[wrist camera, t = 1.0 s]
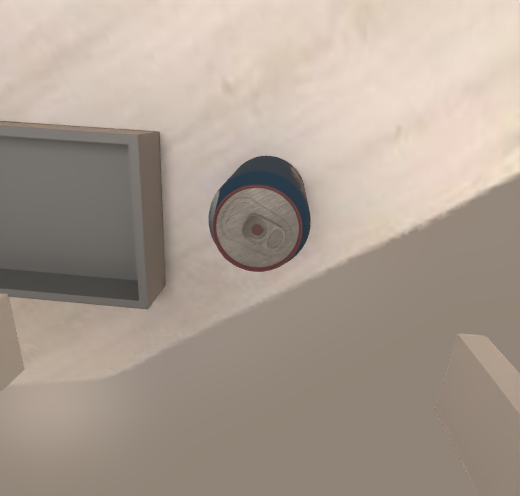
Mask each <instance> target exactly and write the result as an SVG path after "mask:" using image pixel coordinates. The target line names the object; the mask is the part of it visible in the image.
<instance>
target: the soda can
mask: <svg viewBox="0 0 520 496" xmlns="http://www.w3.org/2000/svg"><path fill="white" fill-rule="evenodd" d="M209 227H210V232H211V235H212V238H213V240H214V242H215V244H216V246H217V248H218V249H219V251H220V252H221V254H222V255H223V256H224V257H225V258H226V259H227V260H228V261H229V262H230V263H232V264H233V265H235V266H237V267H239V268H242V269H245V270H248V271H255V272H262V271H269V270H272V269H275V268H278V267H280V266H281V265H283V264H285V263H287V262H288V261H290V260H291V259H292V258H294V257H295V256H296V255H297V254H298V253H299V251H300V250H301V249H302V247H303V246H304V244H305V242H306V240H307V238H308V235H309V230H310V212H309V207H308V202H307V198H306V193H305V188H304V184H303V181H302V178H301V176H300V175H299V173H298V172H297V170H296V169H295V168H294V167H293V166H292V165H291V164H289V163H288V162H286V161H284V160H282V159H280V158H277V157H272V156H261V157H256V158H253V159H251V160H249V161H247V162H245V163H244V164H243V165H241V166H240V167H239V168H238V169H237V171H236V172H235V173H234V174H233V175H232V176H231V177H230V178H229V179H228V180H227V181H226V183H225V184H224V185H223V186H222V187H221V188H220V189H219V190H218V192H217V193H216V195H215V197H214V199H213V201H212V203H211V207H210V211H209Z"/></svg>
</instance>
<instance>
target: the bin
mask: <svg viewBox="0 0 520 496" xmlns="http://www.w3.org/2000/svg"><path fill="white" fill-rule="evenodd" d="M164 286H165V266H164V240H163V214H162V188H161V162H160V136H159V132H155V131H140V130H125V129H111V128H96V127H81V126H66V125H51V124H36V123H21V122H6V121H0V293H1V294H8V296H9V297H20V298H31V299H42V300H53V301H64V302H74V303H85V304H96V305H107V306H118V307H129V308H140V309H149V307H150V306H151V304H152V303H153V302H154V300H155V299H156V297H157V296H158V295H159V293H160V292H161V291H162V289H163V288H164Z"/></svg>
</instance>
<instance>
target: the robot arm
mask: <svg viewBox="0 0 520 496" xmlns="http://www.w3.org/2000/svg"><path fill="white" fill-rule="evenodd" d="M23 370H24V365H23V361H22V356H21V352H20V347H19V343H18V338H17V333H16V329H15V324H14V320H13V315H12V311H11V306H10V302H9V297H8V294H1V293H0V392H1V391H2V390H3V389H4V388H5V387H6V386H7V385H8V384H9V383H10V382H12V381H13V380H14V379H15V378H16V377H17V376H18V375H19V374H20V373H21V372H22V371H23ZM435 410H436V412H437V414H438V416H439V418H440V420H441V422H442V424H443V426H444V428H445V430H446V433H447V434H448V437H449V439H450V441H451V442H452V445H453V447H454V448H455V451H456V453H457V455H458V457H459V459H460V461H461V463H462V465H463V466H464V469H465V471H466V473H467V475H468V477H469V479H470V481H471V483H472V485H473V487H474V489H475V491H476V493H477V495H478V496H520V374H519V373H518V372H517V370H516V369H515V368H514V367H513V366H512V365H511V364H510V363H509V361H508V360H507V359H506V358H505V357H504V356H503V355H502V354H501V353H500V351H499V350H498V349H497V348H496V347H495V346H494V345H493V344H492V342H491V341H490V340H489V339H488V338H487V337H486V336H481V335H470V334H459V333H458V334H457V337H456V340H455V344H454V347H453V351H452V354H451V357H450V361H449V364H448V368H447V371H446V374H445V378H444V381H443V385H442V388H441V391H440V395H439V398H438V401H437V405H436V408H435Z"/></svg>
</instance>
